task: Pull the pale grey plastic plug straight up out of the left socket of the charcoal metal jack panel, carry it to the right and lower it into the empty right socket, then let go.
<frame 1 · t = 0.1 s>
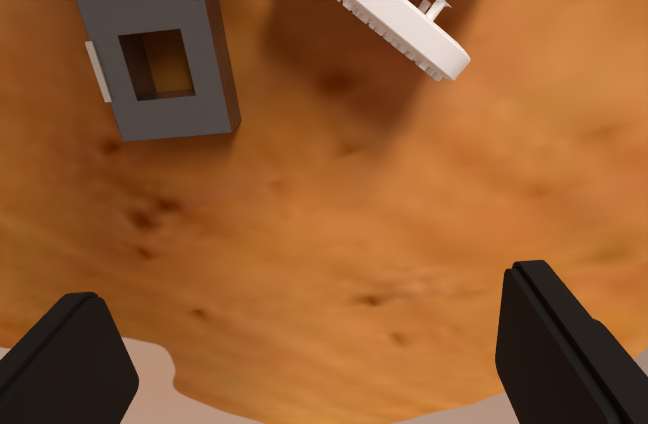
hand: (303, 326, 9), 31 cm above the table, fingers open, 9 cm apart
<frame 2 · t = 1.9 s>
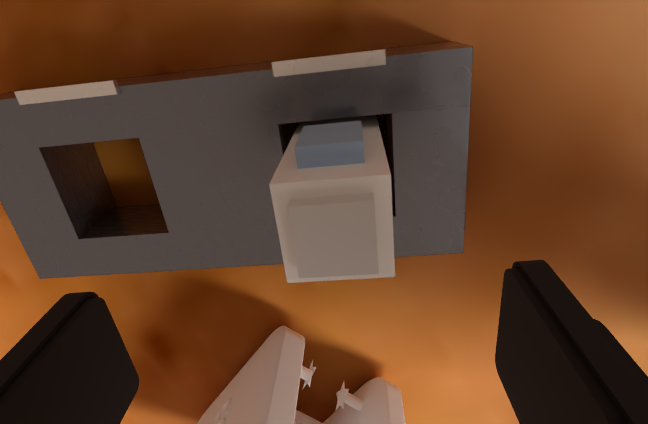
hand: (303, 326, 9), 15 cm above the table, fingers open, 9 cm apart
plug: (341, 147, 23), resting in jack panel
jack panel: (239, 157, 23), on the table
cable organizer: (290, 391, 32), on the table
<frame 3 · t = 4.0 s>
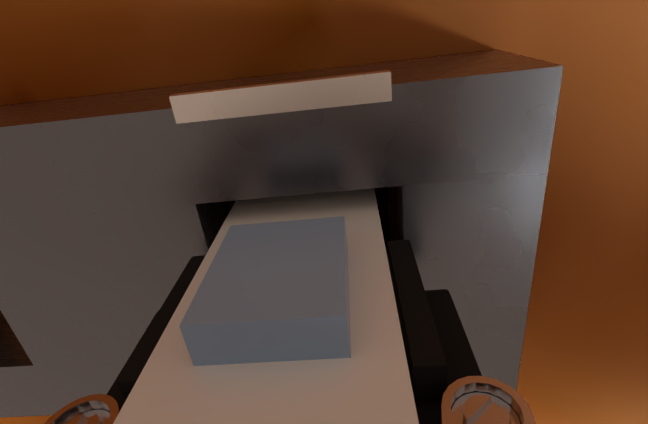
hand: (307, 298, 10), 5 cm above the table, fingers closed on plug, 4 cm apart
plug: (317, 215, 15), resting in jack panel, touching gripper
jack panel: (160, 227, 15), on the table
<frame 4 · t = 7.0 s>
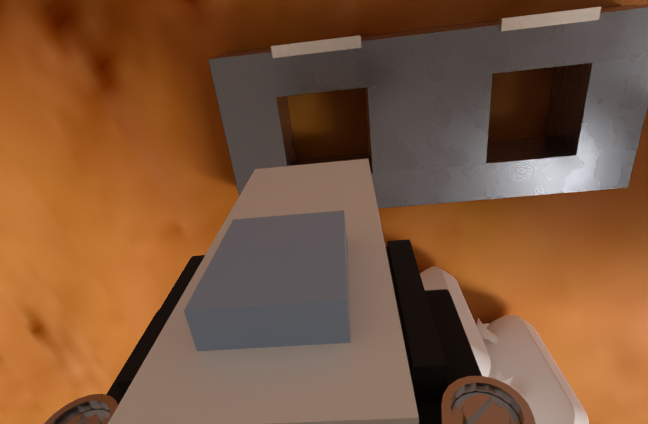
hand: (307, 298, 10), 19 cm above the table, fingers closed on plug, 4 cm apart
plug: (317, 215, 15), point 14 cm above the table, touching gripper
jack panel: (417, 111, 27), on the table
cable organizer: (418, 333, 36), on the table
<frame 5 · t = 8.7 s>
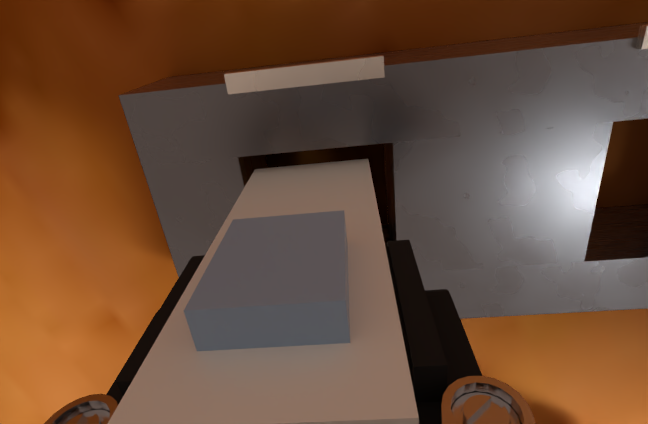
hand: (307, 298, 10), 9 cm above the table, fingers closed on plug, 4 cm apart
plug: (317, 215, 15), point 4 cm above the table, touching gripper
jack panel: (463, 166, 17), on the table
when the fingers open (5 cm above the table, at t = 10.1 s): plug stays where it is, resting in jack panel.
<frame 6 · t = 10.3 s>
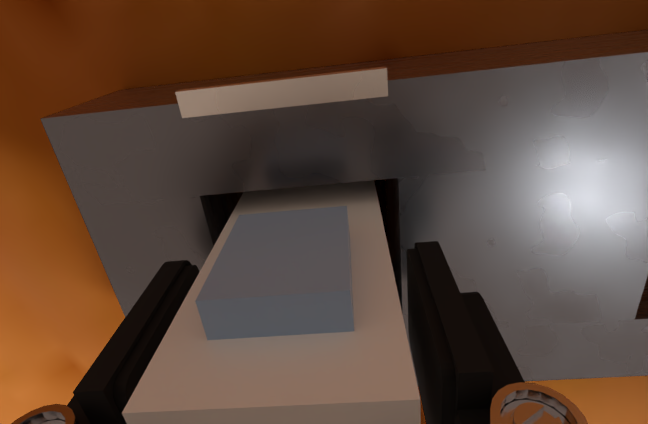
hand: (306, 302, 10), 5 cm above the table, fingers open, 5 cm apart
plug: (319, 211, 15), resting in jack panel
jack panel: (480, 194, 15), on the table
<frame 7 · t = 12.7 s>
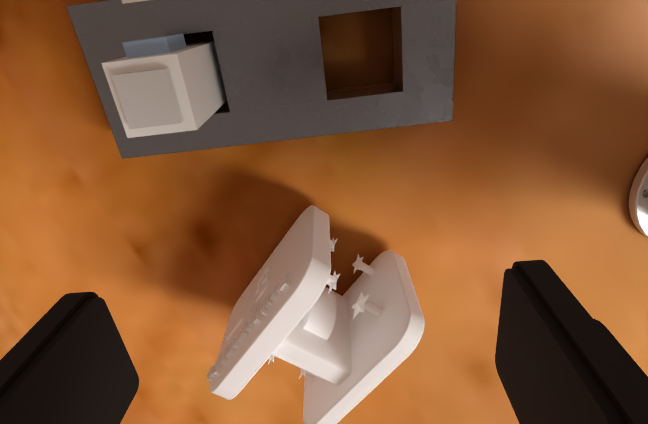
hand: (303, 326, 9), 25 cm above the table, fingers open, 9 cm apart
plug: (200, 71, 30), resting in jack panel
jack panel: (277, 59, 30), on the table
cable organizer: (312, 274, 39), on the table
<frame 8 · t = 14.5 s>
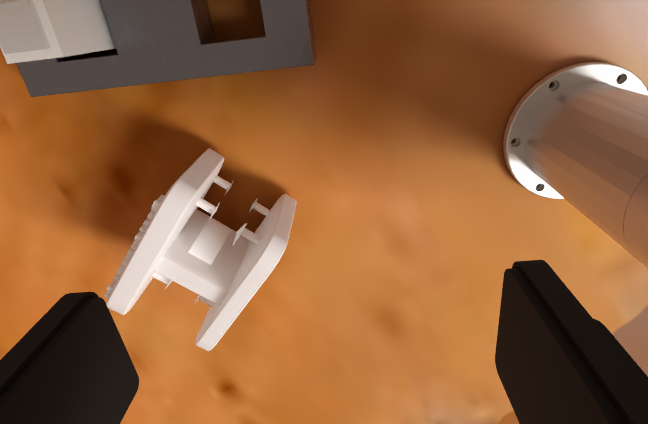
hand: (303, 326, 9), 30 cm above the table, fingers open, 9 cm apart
plug: (104, 23, 35), resting in jack panel
jack panel: (169, 13, 34), on the table
cable organizer: (222, 218, 43), on the table
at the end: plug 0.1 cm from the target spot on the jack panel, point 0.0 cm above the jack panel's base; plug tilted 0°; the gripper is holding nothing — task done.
